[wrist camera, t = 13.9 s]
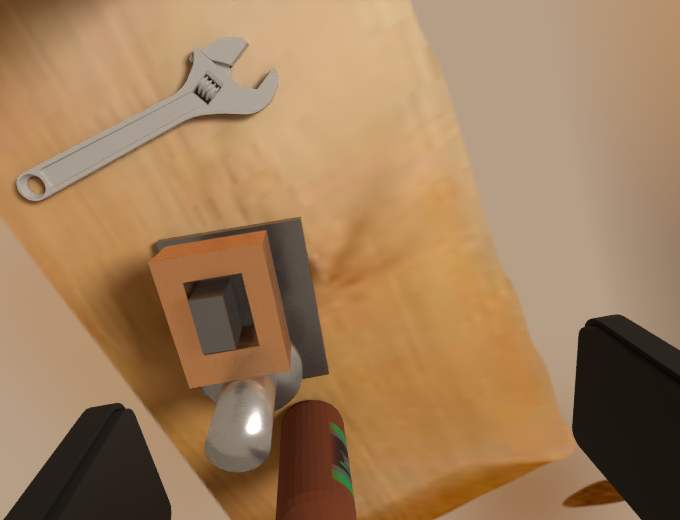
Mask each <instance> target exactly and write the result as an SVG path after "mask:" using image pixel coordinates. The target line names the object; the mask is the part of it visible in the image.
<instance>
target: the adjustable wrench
mask: <svg viewBox="0 0 680 520" xmlns="http://www.w3.org/2000/svg"><path fill="white" fill-rule="evenodd" d="M248 46H249V44H248V43H247V42H246V41H245V40H244V39H243V38H239V37H227V38H222V39H219V40H216V41H214V42H212V43H210V44H208V45H207V46H205V47H204V48H202V49H201V50H200V49H199V48H197V47H195V48H194V50H193V52H194V53H193V54H192V55H191V56H190V58H189V61H190V62H192V63H193V67H192V69H191V72H190V74H189V77H188V79H187V81H186V83H185V84H184V86H183V87H182V88H181V89H180V90H179V91H178V92H177V93H175V94H174V95H172V96H171V97H169V98H167V99H165V100H163V101H161V102H159V103H157V104H155V105H153V106H151V107H149V108H148V109H146V110H144V111H142V112H140V113H138V114H136V115H134V116H132V117H130V118H128V119H126V120H124V121H122V122H120V123H118V124H117V125H115V126H113V127H111V128H109V129H107V130H105V131H103V132H101V133H99V134H97V135H95V136H93V137H91V138H89V139H87V140H86V141H84V142H82V143H80V144H78V145H76V146H74V147H72V148H70V149H68V150H66V151H64V152H62V153H60V154H58V155H56V156H55V157H53V158H51V159H49V160H47V161H45V162H43V163H41V164H39V165H37V166H35V167H33V168H31V169H29V170H27V171H25V172H24V173H22V174H21V175H19V176H18V178H17V182H16V185H17V189H18V191H19V192H20V194H21V195H22V196H23V197H25V198H27V199H28V200H32V201H39V200H43V199H46V198H49V197H51V196H52V195H54V194H56V193H58V192H60V191H62V190H63V189H65V188H67V187H69V186H71V185H72V184H74V183H76V182H78V181H80V180H81V179H83V178H85V177H87V176H89V175H90V174H92V173H94V172H96V171H98V170H99V169H101V168H103V167H105V166H107V165H108V164H110V163H112V162H114V161H116V160H117V159H119V158H121V157H123V156H125V155H126V154H128V153H130V152H132V151H134V150H135V149H137V148H139V147H141V146H143V145H144V144H146V143H148V142H150V141H152V140H153V139H155V138H157V137H159V136H161V135H162V134H164V133H166V132H168V131H170V130H171V129H173V128H175V127H177V126H179V125H180V124H182V123H184V122H186V121H188V120H190V119H192V118H195V117H198V116H203V115H211V114H254V113H257V112H259V111H262V110H263V109H265V108H266V107H267V106H268V105H269V104H270V103H271V102H272V100H273V98H274V96H275V94H276V91H277V88H278V73H277V71H276V70H275V68H273V69H272V70H271V72H270V73H269V74H268V76H267V77H266V78H265V79H264V81H263V82H262V83H261V85H260V86H259V87H258V89H253V88H248V87H243V86H240V85H239V84H238V83H237V82H236V81H235V80H234V79H233V77H232V75H231V71H230V66H234V65H235V63H236V62H237V61H238V59H239V58H240V56H241V55H242V54H243V52H244V51H245V50H246V48H247V47H248ZM209 79H210V80H211V81H210V80H209ZM213 82H214V83H215V84H213ZM216 86H218V88H217V87H216ZM197 90H198V94H202V97H206V100H207V101H208V100H211V101H210V102H209V104H208V103H206V102H205V101H204V100H203V99H202V98H201V97H199V96H198V95H197V94H196V93H195V92H196V91H197ZM32 176H37V177H39V178H40V179H41V180H42V181H43V182H44V184H45V188H46V190H45V193H43V194H35V193H34V192H32V191H31V190H30V188H29V186H28V179H29V178H30V177H32Z"/></svg>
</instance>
